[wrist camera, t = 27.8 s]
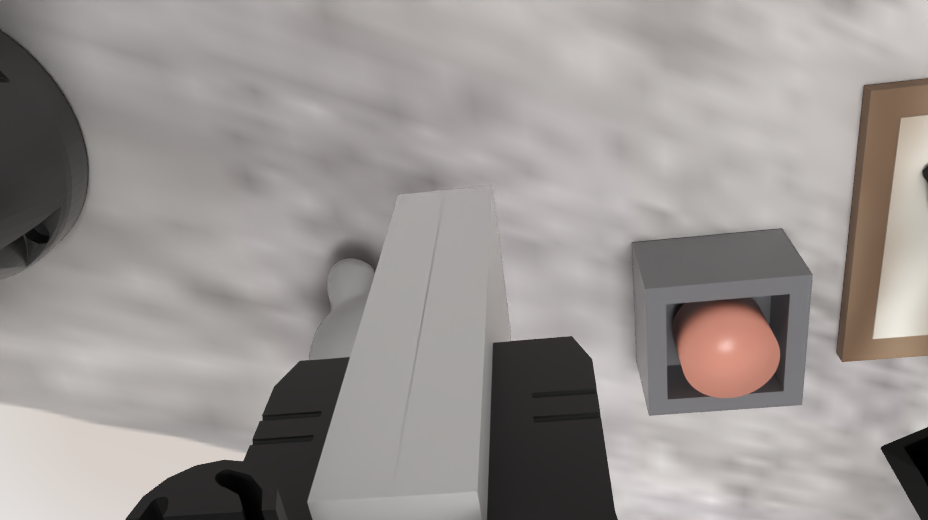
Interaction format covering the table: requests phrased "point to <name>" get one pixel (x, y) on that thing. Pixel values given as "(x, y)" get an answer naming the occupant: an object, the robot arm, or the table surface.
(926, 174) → the holder
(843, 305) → the board
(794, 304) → the button housing
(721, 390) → the button
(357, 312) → the round bodied animal figurine
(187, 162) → the table surface
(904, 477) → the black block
